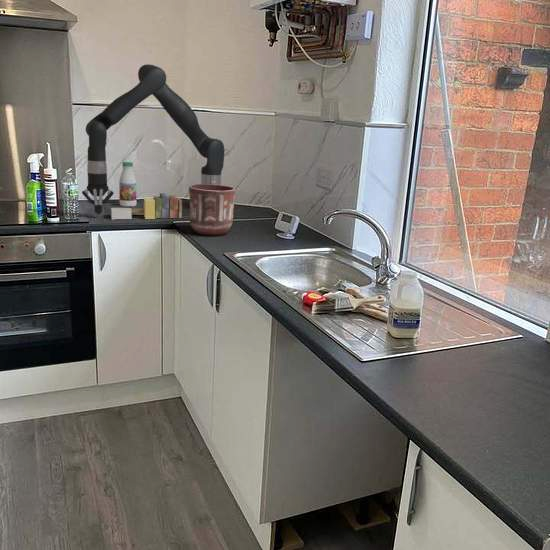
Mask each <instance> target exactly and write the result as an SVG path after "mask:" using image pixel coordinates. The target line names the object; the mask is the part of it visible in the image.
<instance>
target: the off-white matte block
mask: <svg viewBox="0 0 550 550" xmlns="http://www.w3.org/2000/svg"><path fill="white" fill-rule="evenodd" d="M110 209H111V211H110V213H111V212H112V216H111V220H115V219H132V218H133V216H132V215H131V209H132V208H131V207H111V208H110Z"/></svg>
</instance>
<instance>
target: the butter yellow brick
mask: <svg viewBox="0 0 550 550" xmlns="http://www.w3.org/2000/svg"><path fill="white" fill-rule="evenodd" d="M143 209H144V216H143V218H144V217H145V218H144V220H145V219H155V220H156V218H155V200H154V198H144V199H143Z"/></svg>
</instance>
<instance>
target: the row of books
mask: <svg viewBox="0 0 550 550" xmlns="http://www.w3.org/2000/svg"><path fill="white" fill-rule="evenodd" d="M153 199H154V200H155V219H156V218H169V219H170V218H178V217H179V218H182V219H183V200H182V199H181V198H179V197H178V196H177V195H169V194H168V193H167V192H159V196H158V195H157V196H153ZM109 211H110V217H112V212H111V208H110V210H109ZM131 215H144V208H131ZM179 218H178V219H179Z"/></svg>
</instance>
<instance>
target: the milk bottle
mask: <svg viewBox="0 0 550 550" xmlns="http://www.w3.org/2000/svg"><path fill="white" fill-rule="evenodd" d="M133 164H134V163H133V162H130V161H122V172H121V174H120V176H119V181H118V182H119V189H118V190H119V191H118V193H119V206H121V207H125V208H131V207H136V206H137V178H136V176H135V174H134V171H133V169H134V165H133ZM130 206H131V207H130Z"/></svg>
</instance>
